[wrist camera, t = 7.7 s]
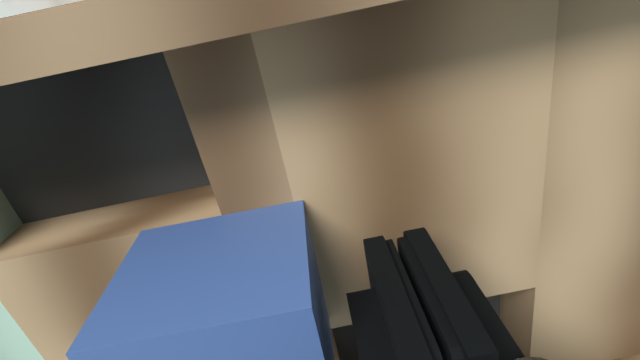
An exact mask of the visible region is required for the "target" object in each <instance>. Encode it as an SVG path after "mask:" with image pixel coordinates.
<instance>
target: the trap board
mask: <svg viewBox="0 0 640 360" xmlns="http://www.w3.org/2000/svg"><path fill="white" fill-rule="evenodd" d="M300 200H303V202H304V207H305V211H306V216H307V220H308V225H309V229H310V234H311V238H312V243H313V247H314V252H315V256H316V261H317V266H318V270H319V275H320V279H321V284H322V288H323V293H324V297H325V302H326V306H327V311H328V315H329V320H330V328H331V336H332V343H333V351H334V358H335V360H359V355H358V350H357V345H356V340H355V335H354V330H353V325H352V320H351V315H350V310H349V305H348V300H347V295H346V293H351V292H356V291H361V290H366V289H371V287H370V281H369V275H368V269H367V263H366V256H365V250H364V244H363V239H367V238H372V237H377V236H382V235H383V236H384V238H385V240H389V239H392V240H393V242H394V245H395V247H396V249H397V252H398V245H397V238H399V237H403V232H404V231H407V230H412V229H417V228H422V227H424V228H425V229H426V230H427V232H428V234H429V235H430V237H431V239H432V240H433V242H434V244H435V245H436V247H437V249H438V250H439V252H440V254H441V255H442V257H443V259H444V261H445V262H446V264H447V266H448V267H449V269H450V271H451V272H457V271H462V270H467V271H468V272H469V273H470V274H471V275H472V277H473V278H474V280H475V281H476V283H477V284H478V286H479V288H480V289H481V291H482V292H483V294H484V295H485V297H486V298H487V300H488V301H489V303H490V304H491V306H492V307H493V309H494V310H495V312H496V313H497V315H498V316H499V318H500V319H501V321H502V322H503V324H504V326H505V327H506V329H507V330H508V332H509V333H510V335H511V336H512V338H513V339H514V341H515V342H516V344H517V345H518V347H519V348H520V350H521V351H522V353H523V354H524V356H525V357H541V358H544V359H547V360H640V0H84V1H79V2H74V3H70V4H65V5H60V6H56V7H51V8H46V9H42V10H37V11H33V12H28V13H23V14H19V15H14V16H9V17H5V18H0V360H69V359H68V358H67V356H66V355H65V354H66V353H67V351H68V349H69V348H70V346H71V344H72V343H73V341H74V340H75V338H76V336H77V335H78V333H79V331H80V330H81V328H82V326H83V325H84V323H85V322H86V320H87V318H88V317H89V315H90V313H91V312H92V310H93V309H94V307H95V305H96V304H97V302H98V300H99V299H100V297H101V295H102V294H103V292H104V291H105V289H106V287H107V286H108V284H109V282H110V281H111V279H112V278H113V276H114V274H115V273H116V271H117V269H118V268H119V266H120V264H121V263H122V261H123V260H124V258H125V256H126V255H127V253H128V251H129V250H130V248H131V246H132V245H133V243H134V242H135V240H136V238H137V237H138V235H139V233H140V232H141V231H142V230H148V229H153V228H158V227H163V226H169V225H174V224H179V223H184V222H190V221H195V220H200V219H205V218H211V217H216V216H221V215H226V214H232V213H237V212H242V211H247V210H253V209H258V208H263V207H268V206H274V205H279V204H284V203H289V202H295V201H300Z"/></svg>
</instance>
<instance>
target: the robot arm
mask: <svg viewBox="0 0 640 360" xmlns="http://www.w3.org/2000/svg"><path fill="white" fill-rule="evenodd" d="M363 244H364V250H365V256H366V263H367V269H368V275H369V281H370V287H371V289H366V290H361V291H356V292H351V293H346V295H347V300H348V305H349V310H350V315H351V320H352V325H353V330H354V335H355V340H356V345H357V350H358V355H359V360H547V359H544V358H541V357H525V356H524V354H523V353H522V351H521V350H520V348H519V347H518V345H517V344H516V342H515V341H514V339H513V338H512V336H511V335H510V333H509V332H508V330H507V329H506V327H505V326H504V324H503V322H502V321H501V319H500V318H499V316H498V315H497V313H496V312H495V310H494V309H493V307H492V306H491V304H490V303H489V301H488V300H487V298H486V297H485V295H484V294H483V292H482V291H481V289H480V288H479V286H478V284H477V283H476V281H475V280H474V278H473V277H472V275H471V274H470V273H469V272H468V271H467V270H462V271H457V272H451V271H450V269H449V267H448V266H447V264H446V262H445V261H444V259H443V257H442V255H441V254H440V252H439V250H438V249H437V247H436V245H435V244H434V242H433V240H432V239H431V237H430V235H429V234H428V232H427V230H426V229H425V228H424V227H422V228H417V229H412V230H407V231H404V232H403V237H399V238H397V245H398V252H397V249H396V247H395V245H394V242H393V240H392V239H389V240H385V238H384V236H383V235H382V236H377V237H372V238H367V239H363Z"/></svg>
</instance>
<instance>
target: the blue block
mask: <svg viewBox="0 0 640 360" xmlns="http://www.w3.org/2000/svg"><path fill="white" fill-rule="evenodd" d="M65 355H66V356H67V358H68V359H69V360H335V358H334V351H333V343H332V336H331V328H330V320H329V315H328V311H327V306H326V302H325V297H324V293H323V288H322V284H321V279H320V275H319V270H318V266H317V261H316V256H315V252H314V247H313V243H312V238H311V234H310V229H309V225H308V220H307V216H306V211H305V207H304V202H303V200H300V201H295V202H289V203H284V204H279V205H274V206H268V207H263V208H258V209H253V210H247V211H242V212H237V213H232V214H226V215H221V216H216V217H211V218H205V219H200V220H195V221H190V222H184V223H179V224H174V225H169V226H163V227H158V228H153V229H148V230H142V231H141V232H140V233H139V235H138V237H137V238H136V240H135V242H134V243H133V245H132V246H131V248H130V250H129V251H128V253H127V255H126V256H125V258H124V260H123V261H122V263H121V264H120V266H119V268H118V269H117V271H116V273H115V274H114V276H113V278H112V279H111V281H110V282H109V284H108V286H107V287H106V289H105V291H104V292H103V294H102V295H101V297H100V299H99V300H98V302H97V304H96V305H95V307H94V309H93V310H92V312H91V313H90V315H89V317H88V318H87V320H86V322H85V323H84V325H83V326H82V328H81V330H80V331H79V333H78V335H77V336H76V338H75V340H74V341H73V343H72V344H71V346H70V348H69V349H68V351H67V353H66V354H65Z"/></svg>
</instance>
